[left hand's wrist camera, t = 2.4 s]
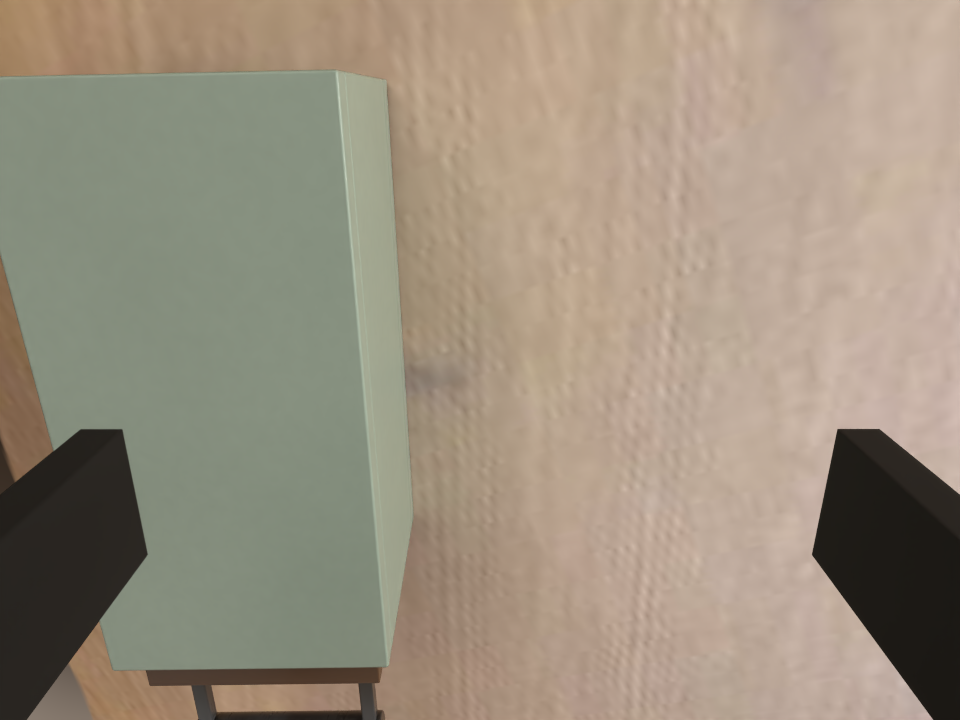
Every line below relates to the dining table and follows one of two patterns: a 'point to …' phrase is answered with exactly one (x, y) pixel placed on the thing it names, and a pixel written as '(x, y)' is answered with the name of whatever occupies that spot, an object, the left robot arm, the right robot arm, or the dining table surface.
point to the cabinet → (223, 347)
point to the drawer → (203, 679)
